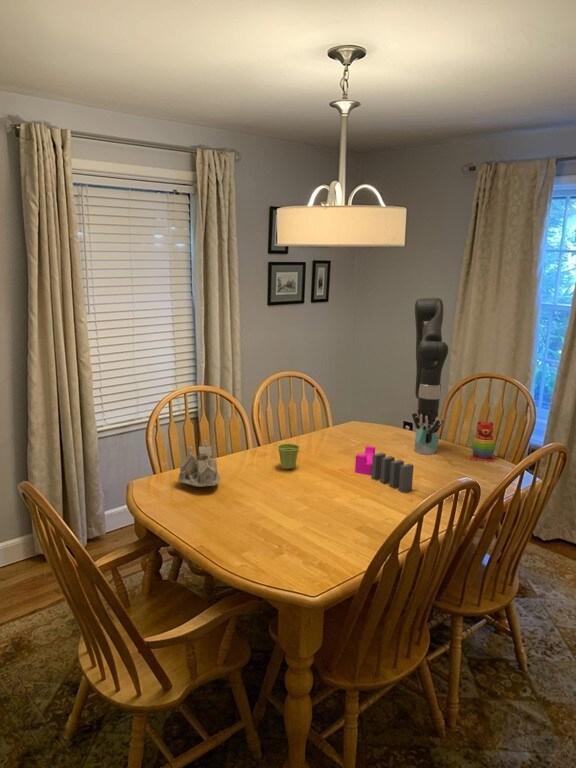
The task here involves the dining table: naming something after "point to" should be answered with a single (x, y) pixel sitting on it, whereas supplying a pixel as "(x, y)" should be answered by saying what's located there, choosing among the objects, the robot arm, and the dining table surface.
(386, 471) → the domino
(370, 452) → the toy block
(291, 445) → the plant pot
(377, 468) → the domino
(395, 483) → the domino
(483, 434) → the stacking bear
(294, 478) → the dining table surface
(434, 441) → the domino
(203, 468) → the ceramic cottage
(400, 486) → the domino
